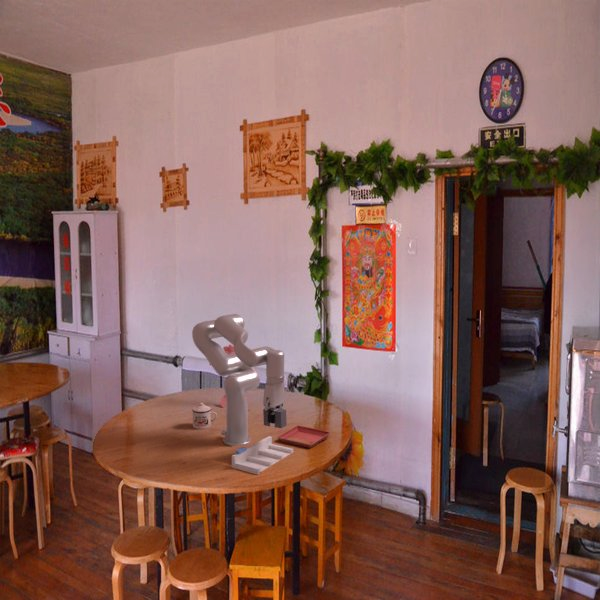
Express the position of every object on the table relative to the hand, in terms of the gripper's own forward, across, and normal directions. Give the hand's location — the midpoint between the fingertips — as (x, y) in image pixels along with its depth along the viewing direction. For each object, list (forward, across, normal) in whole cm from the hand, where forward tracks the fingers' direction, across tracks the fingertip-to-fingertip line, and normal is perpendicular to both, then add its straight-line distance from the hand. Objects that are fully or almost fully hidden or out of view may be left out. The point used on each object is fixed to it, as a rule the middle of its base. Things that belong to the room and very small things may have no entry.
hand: (274, 420), depth 253 cm
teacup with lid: (+16, -11, -48) cm, 52 cm away
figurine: (+16, -41, -54) cm, 70 cm away
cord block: (+2, 0, 0) cm, 2 cm away
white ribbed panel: (+15, +8, 0) cm, 17 cm away
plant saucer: (+15, -20, +3) cm, 25 cm away
